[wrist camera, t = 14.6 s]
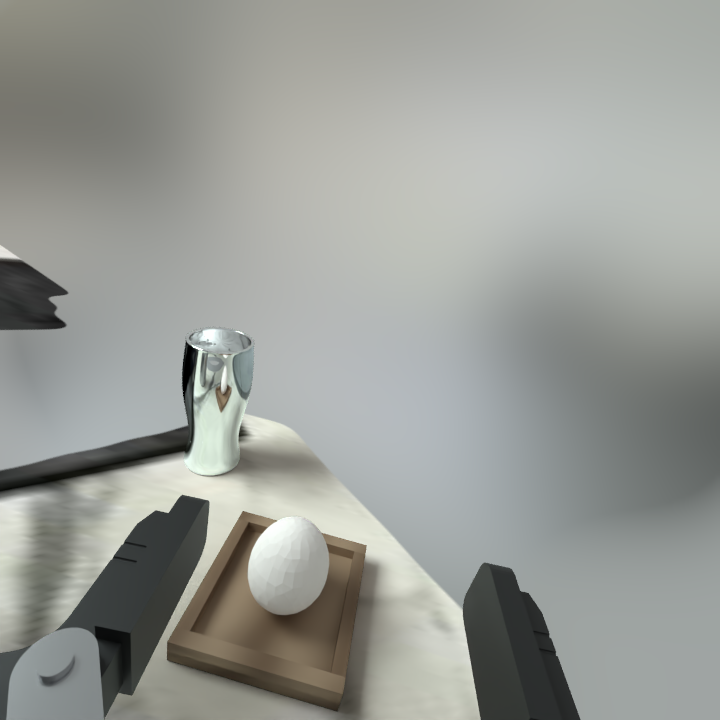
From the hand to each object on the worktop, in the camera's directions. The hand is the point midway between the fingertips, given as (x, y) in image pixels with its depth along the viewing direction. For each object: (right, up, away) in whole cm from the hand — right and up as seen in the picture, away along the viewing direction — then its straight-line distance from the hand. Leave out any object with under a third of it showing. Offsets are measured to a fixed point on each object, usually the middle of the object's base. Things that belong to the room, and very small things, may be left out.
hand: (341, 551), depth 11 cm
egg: (-6, -14, +20) cm, 25 cm away
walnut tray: (-6, -14, +21) cm, 26 cm away
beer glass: (-17, -6, +34) cm, 39 cm away
